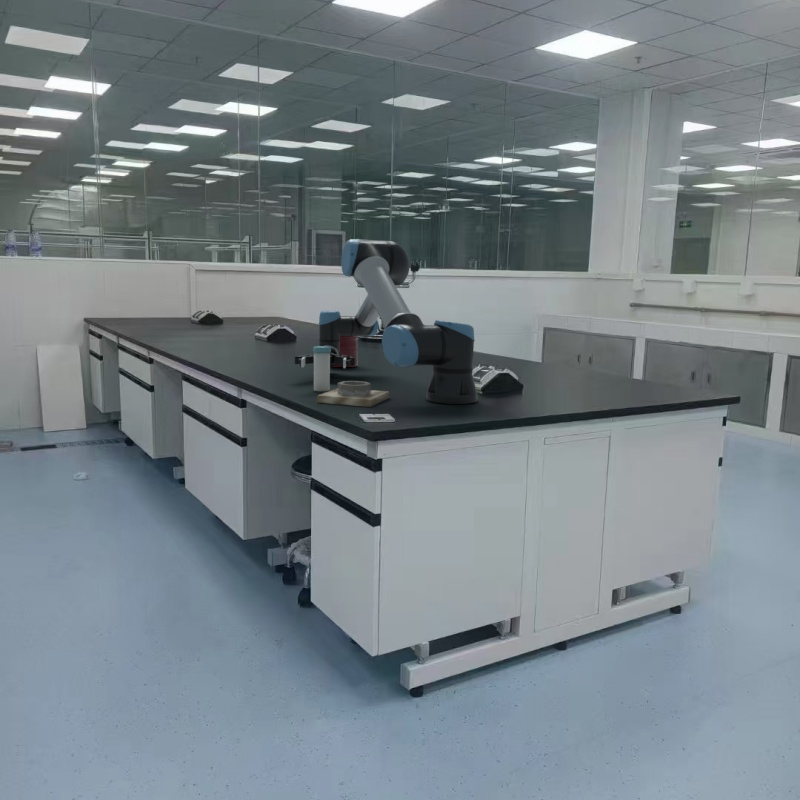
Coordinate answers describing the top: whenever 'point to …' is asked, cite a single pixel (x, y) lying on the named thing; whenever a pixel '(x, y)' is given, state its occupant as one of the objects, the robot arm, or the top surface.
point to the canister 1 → (321, 368)
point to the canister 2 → (348, 349)
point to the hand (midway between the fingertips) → (323, 363)
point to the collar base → (353, 394)
